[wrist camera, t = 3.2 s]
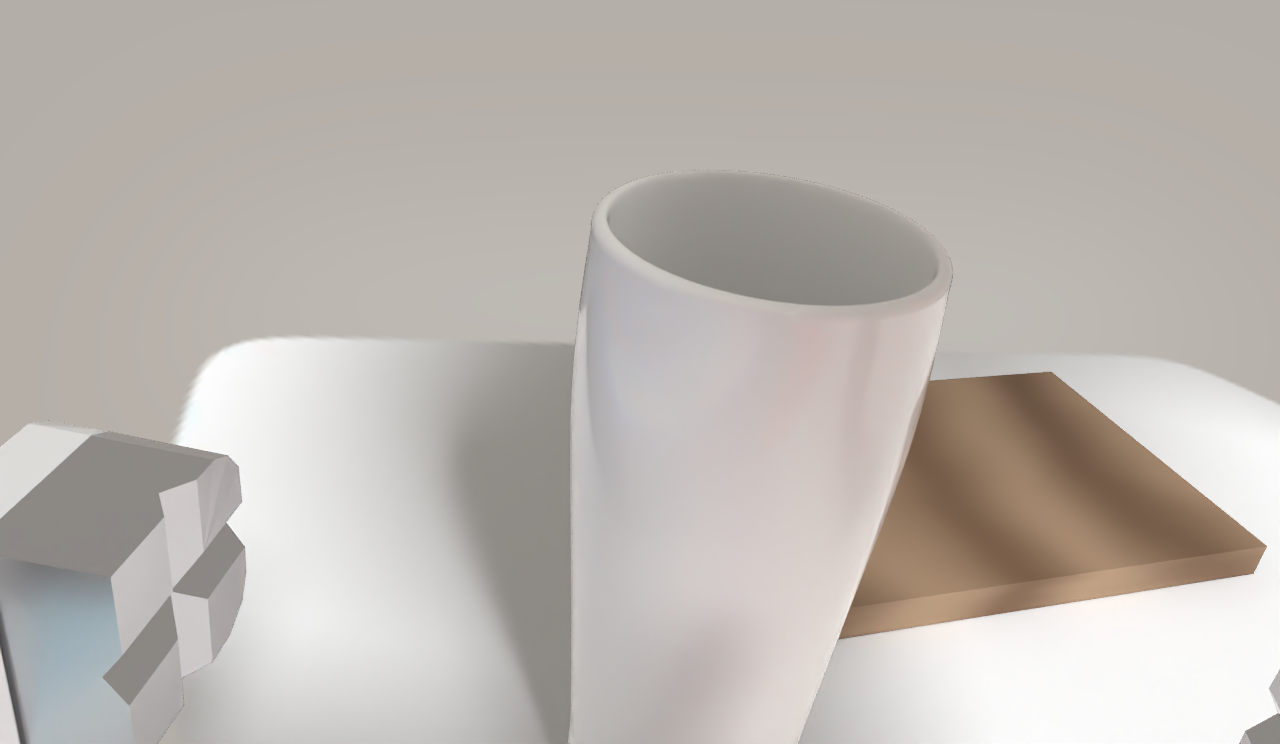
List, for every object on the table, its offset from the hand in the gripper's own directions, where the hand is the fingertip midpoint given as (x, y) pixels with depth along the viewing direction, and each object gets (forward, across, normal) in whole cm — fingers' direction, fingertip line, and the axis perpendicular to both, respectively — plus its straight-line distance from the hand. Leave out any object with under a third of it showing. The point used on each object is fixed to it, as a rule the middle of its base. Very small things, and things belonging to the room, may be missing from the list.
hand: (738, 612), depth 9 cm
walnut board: (+27, -9, +16) cm, 33 cm away
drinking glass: (+12, 0, +17) cm, 21 cm away
